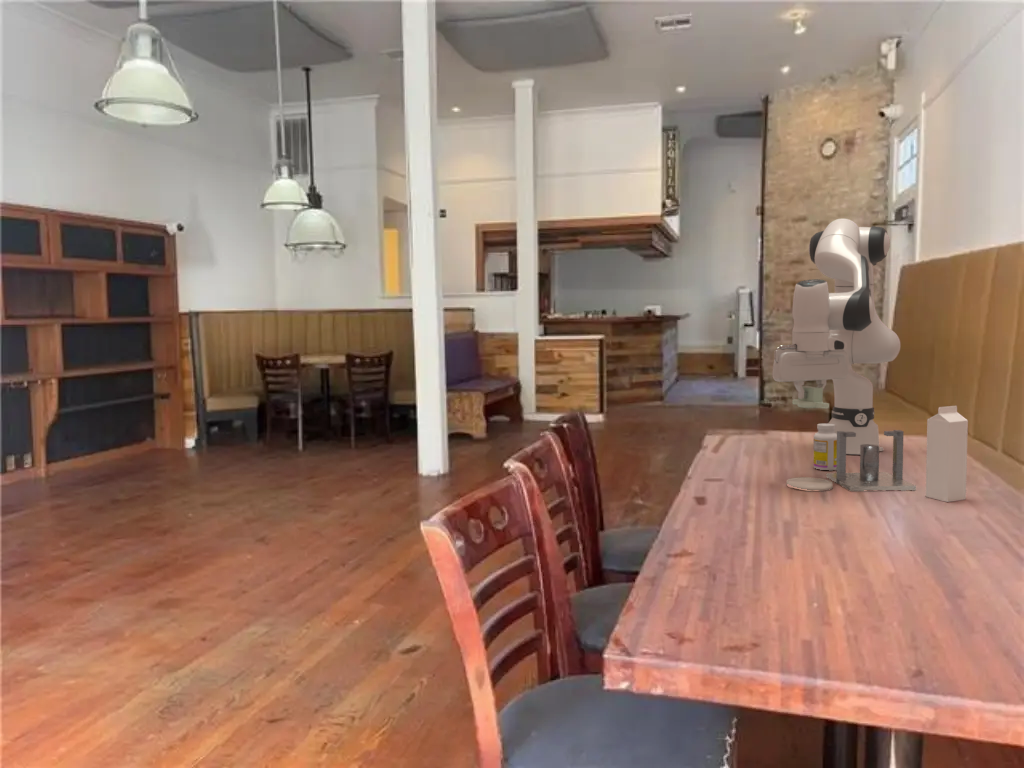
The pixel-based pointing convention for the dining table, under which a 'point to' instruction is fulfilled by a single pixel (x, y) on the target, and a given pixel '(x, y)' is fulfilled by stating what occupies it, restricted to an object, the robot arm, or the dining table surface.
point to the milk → (946, 455)
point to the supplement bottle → (825, 447)
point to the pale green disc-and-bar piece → (811, 398)
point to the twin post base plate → (870, 466)
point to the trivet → (810, 483)
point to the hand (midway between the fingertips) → (810, 398)
